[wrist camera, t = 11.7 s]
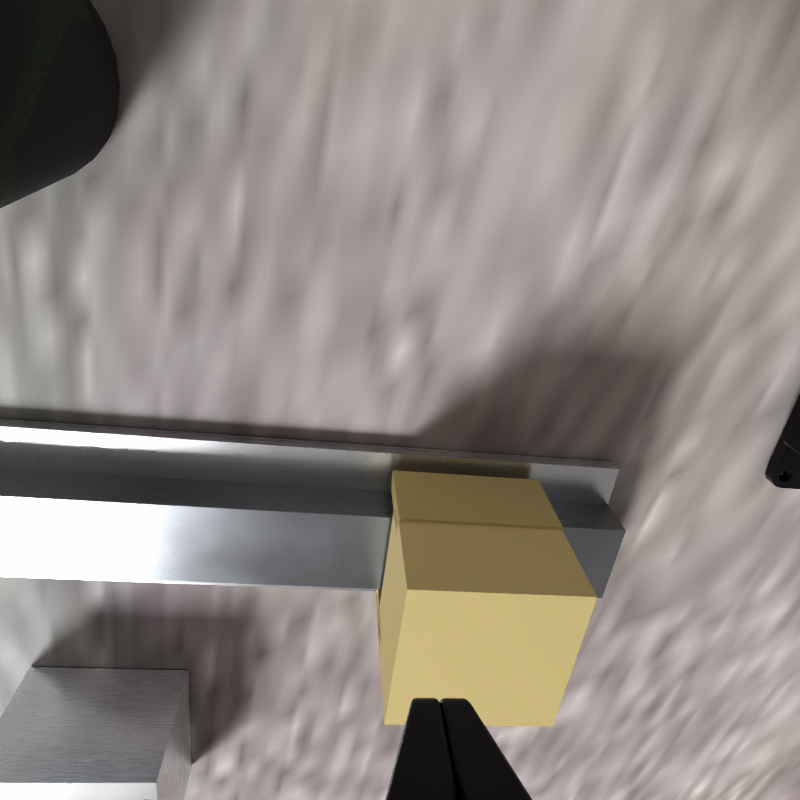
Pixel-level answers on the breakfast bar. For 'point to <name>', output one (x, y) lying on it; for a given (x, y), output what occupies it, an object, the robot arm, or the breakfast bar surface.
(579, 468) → the rail
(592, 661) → the breakfast bar surface
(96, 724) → the cabinet
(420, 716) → the robot arm
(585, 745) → the breakfast bar surface
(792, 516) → the breakfast bar surface
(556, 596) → the carriage
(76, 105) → the cup
